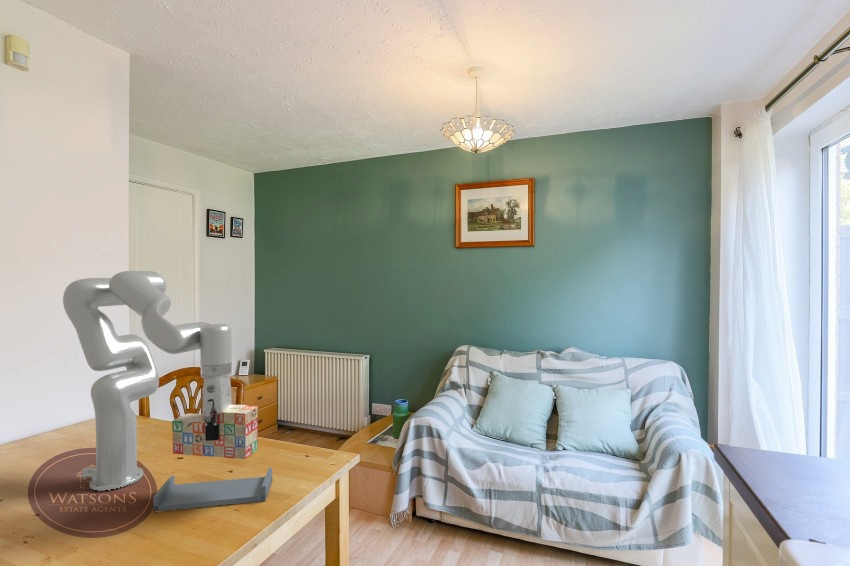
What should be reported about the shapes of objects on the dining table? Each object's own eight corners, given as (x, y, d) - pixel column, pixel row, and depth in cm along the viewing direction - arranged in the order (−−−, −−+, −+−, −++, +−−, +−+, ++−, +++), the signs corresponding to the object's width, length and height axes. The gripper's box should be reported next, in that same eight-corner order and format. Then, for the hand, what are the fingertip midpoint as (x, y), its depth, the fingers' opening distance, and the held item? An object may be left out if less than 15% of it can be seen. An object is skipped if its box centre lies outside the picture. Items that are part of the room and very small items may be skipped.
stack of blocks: (171, 454, 111) (171, 409, 111) (188, 445, 117) (187, 402, 117) (245, 459, 108) (245, 412, 108) (258, 449, 114) (258, 405, 114)
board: (153, 512, 105) (153, 496, 105) (170, 490, 116) (170, 476, 116) (265, 501, 110) (265, 486, 110) (272, 481, 121) (272, 467, 121)
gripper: (222, 376, 105) (222, 445, 105) (238, 362, 122) (239, 422, 122) (189, 378, 103) (190, 448, 103) (211, 363, 120) (211, 423, 120)
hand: (217, 433), depth 113 cm, fingers closed on stack of blocks, 7 cm apart
